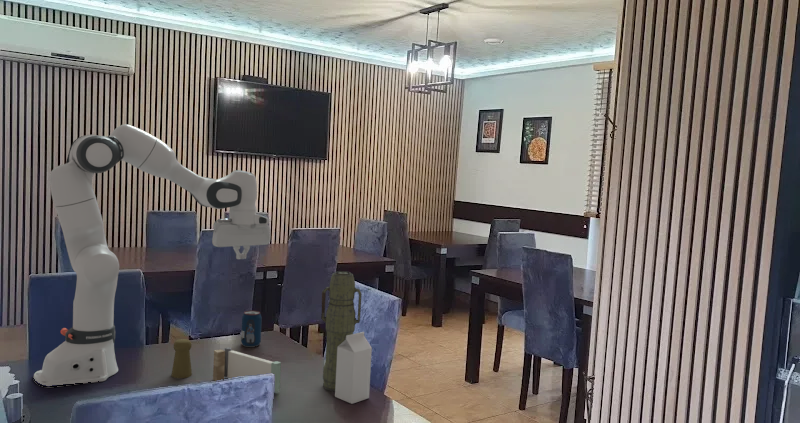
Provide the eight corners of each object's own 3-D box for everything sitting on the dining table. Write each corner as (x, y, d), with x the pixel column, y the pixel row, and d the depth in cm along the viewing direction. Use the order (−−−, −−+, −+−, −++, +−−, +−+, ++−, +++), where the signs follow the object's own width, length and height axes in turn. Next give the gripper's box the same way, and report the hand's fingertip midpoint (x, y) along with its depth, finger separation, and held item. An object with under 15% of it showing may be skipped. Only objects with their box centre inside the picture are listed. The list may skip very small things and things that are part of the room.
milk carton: (369, 398, 182) (372, 334, 180) (351, 404, 176) (355, 338, 175) (352, 391, 186) (355, 329, 185) (334, 397, 181) (337, 333, 179)
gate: (222, 376, 191) (223, 348, 190) (227, 374, 193) (228, 347, 192) (274, 392, 180) (276, 363, 179) (279, 390, 182) (281, 361, 181)
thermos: (317, 380, 194) (323, 269, 191) (355, 381, 195) (361, 270, 192) (317, 391, 185) (322, 274, 182) (357, 391, 186) (363, 275, 184)
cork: (185, 379, 188) (186, 343, 188) (167, 376, 190) (168, 341, 189) (195, 373, 194) (196, 338, 194) (178, 370, 196) (179, 336, 195)
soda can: (255, 341, 232) (256, 309, 231) (264, 345, 226) (265, 313, 225) (237, 343, 227) (238, 311, 226) (246, 348, 222) (247, 315, 221)
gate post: (216, 381, 188) (217, 352, 187) (212, 379, 190) (214, 350, 189) (223, 380, 189) (225, 351, 189) (220, 378, 191) (221, 349, 190)
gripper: (218, 219, 203) (216, 262, 204) (273, 218, 216) (271, 258, 217) (209, 218, 207) (208, 259, 208) (264, 217, 221) (262, 255, 222)
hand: (241, 258), depth 213 cm, fingers closed
